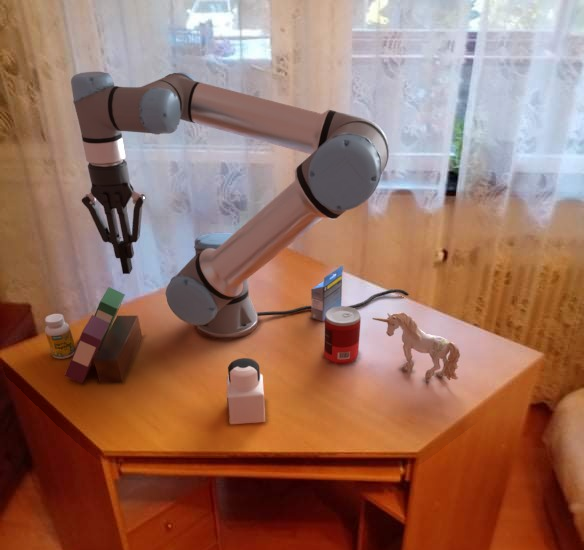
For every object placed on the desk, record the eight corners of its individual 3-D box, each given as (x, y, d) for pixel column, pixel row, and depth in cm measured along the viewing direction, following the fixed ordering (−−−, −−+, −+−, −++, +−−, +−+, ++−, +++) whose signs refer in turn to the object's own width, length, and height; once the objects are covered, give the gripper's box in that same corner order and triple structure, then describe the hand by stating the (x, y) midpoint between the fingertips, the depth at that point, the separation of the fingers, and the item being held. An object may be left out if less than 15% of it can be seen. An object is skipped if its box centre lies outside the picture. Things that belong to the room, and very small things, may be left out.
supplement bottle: (72, 344, 142) (62, 309, 136) (79, 354, 138) (69, 319, 133) (49, 351, 140) (38, 316, 134) (56, 362, 136) (45, 326, 130)
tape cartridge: (329, 304, 157) (330, 260, 149) (341, 308, 155) (343, 264, 147) (310, 318, 151) (310, 273, 144) (323, 322, 149) (324, 277, 142)
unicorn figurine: (376, 353, 137) (380, 302, 129) (461, 370, 132) (471, 318, 124) (367, 370, 132) (372, 318, 124) (455, 389, 126) (466, 335, 118)
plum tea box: (91, 365, 135) (110, 322, 128) (82, 383, 129) (100, 340, 122) (74, 358, 134) (92, 314, 127) (64, 376, 128) (82, 331, 121)
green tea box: (107, 335, 145) (125, 294, 138) (99, 351, 140) (117, 309, 133) (91, 328, 144) (108, 286, 137) (82, 344, 138) (100, 301, 131)
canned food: (364, 355, 137) (367, 313, 130) (343, 369, 132) (345, 327, 126) (339, 343, 141) (341, 302, 135) (317, 356, 137) (317, 315, 130)
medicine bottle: (229, 403, 123) (224, 355, 116) (263, 400, 124) (261, 353, 116) (229, 425, 118) (224, 376, 110) (265, 422, 118) (262, 373, 111)
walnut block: (142, 337, 145) (137, 315, 141) (122, 382, 129) (117, 360, 126) (121, 336, 145) (117, 315, 141) (99, 382, 130) (93, 360, 126)
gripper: (143, 155, 119) (160, 263, 134) (79, 155, 120) (103, 263, 134) (134, 166, 113) (153, 278, 128) (67, 167, 114) (93, 278, 128)
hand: (127, 271), depth 131 cm, fingers closed
